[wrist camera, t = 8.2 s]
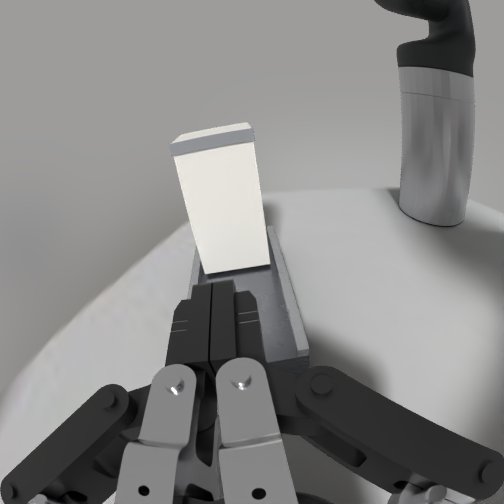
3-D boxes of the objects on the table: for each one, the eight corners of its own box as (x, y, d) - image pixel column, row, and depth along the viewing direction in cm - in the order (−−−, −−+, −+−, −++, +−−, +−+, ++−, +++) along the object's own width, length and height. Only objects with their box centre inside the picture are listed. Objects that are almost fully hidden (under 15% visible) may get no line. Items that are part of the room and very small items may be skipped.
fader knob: (271, 264, 21) (253, 128, 16) (203, 275, 21) (169, 144, 16) (265, 236, 24) (248, 122, 19) (206, 246, 24) (180, 134, 19)
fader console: (308, 373, 15) (309, 348, 14) (192, 389, 15) (178, 365, 14) (275, 249, 27) (272, 225, 25) (204, 260, 27) (197, 237, 26)
